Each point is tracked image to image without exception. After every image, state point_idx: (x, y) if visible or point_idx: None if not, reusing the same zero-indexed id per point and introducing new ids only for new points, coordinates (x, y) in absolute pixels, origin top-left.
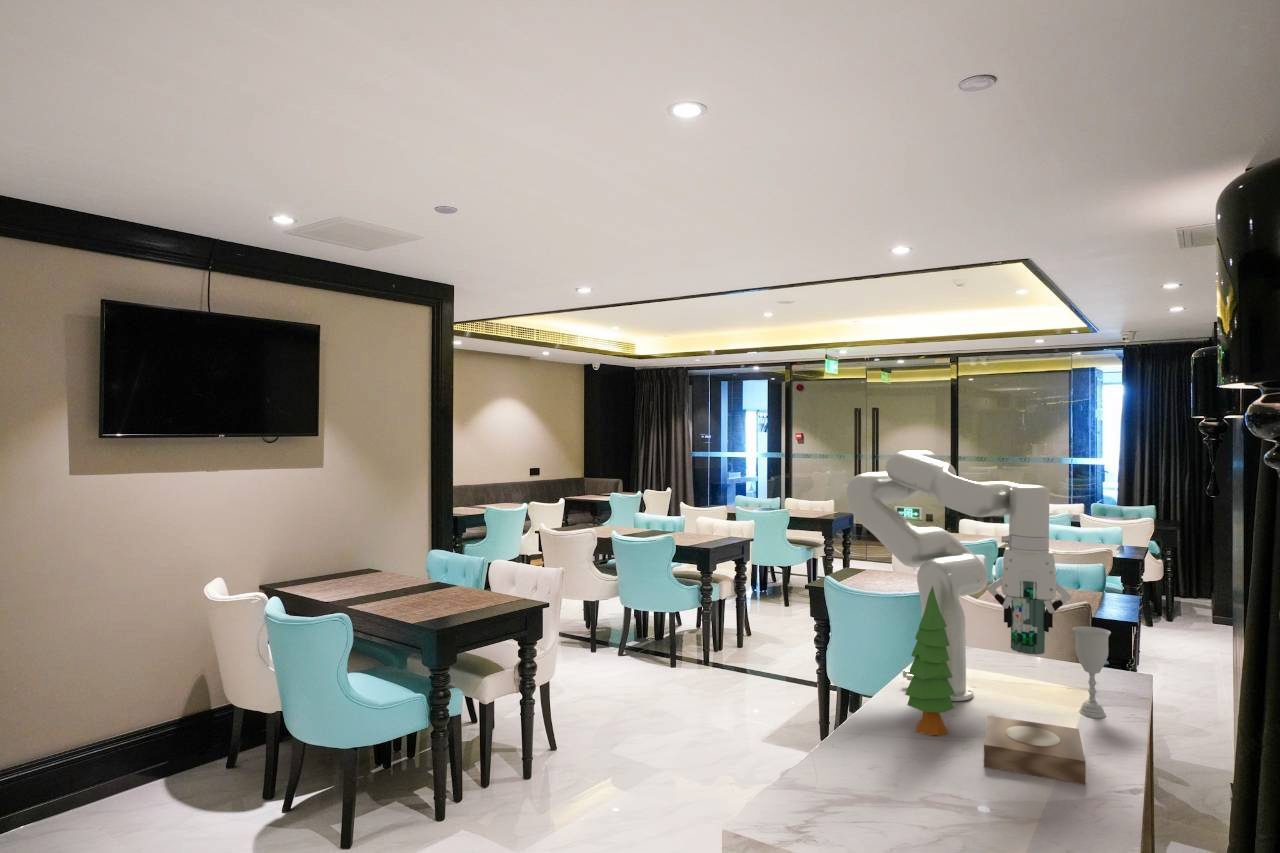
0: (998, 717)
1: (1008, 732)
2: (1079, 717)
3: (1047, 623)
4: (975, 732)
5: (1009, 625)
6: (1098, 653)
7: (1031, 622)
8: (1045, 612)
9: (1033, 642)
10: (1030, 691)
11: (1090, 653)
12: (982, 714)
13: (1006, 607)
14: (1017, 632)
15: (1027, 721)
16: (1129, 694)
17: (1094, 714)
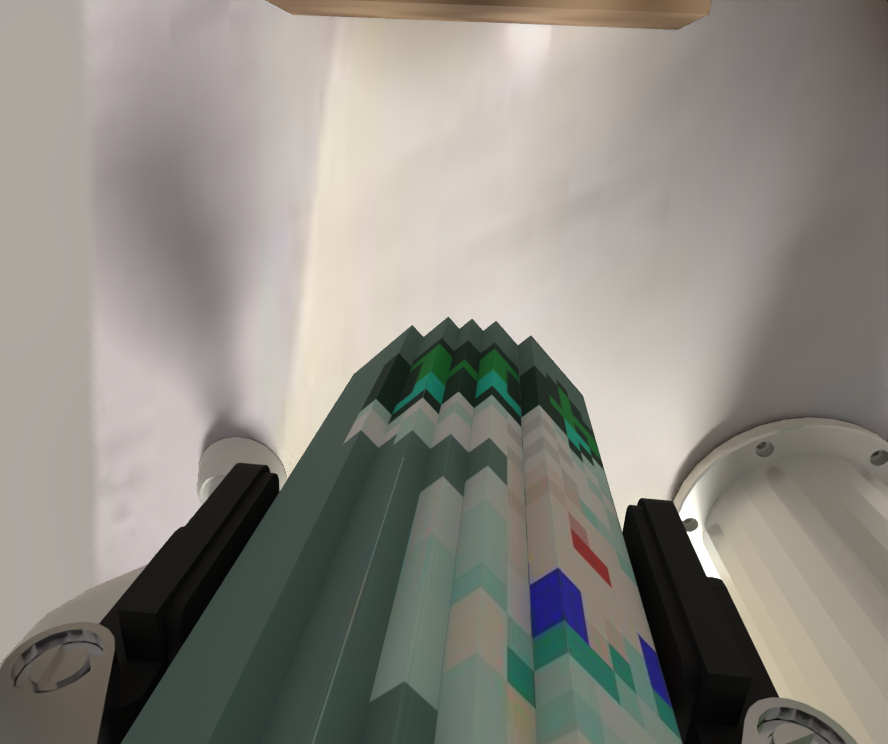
0: (650, 2)
1: None
2: (286, 420)
3: (211, 514)
4: (729, 49)
5: (652, 509)
6: (56, 619)
7: (399, 451)
8: None
9: (411, 369)
10: None
11: (99, 616)
12: (659, 314)
13: (770, 722)
14: (561, 429)
15: (501, 1)
16: None
17: (232, 447)
